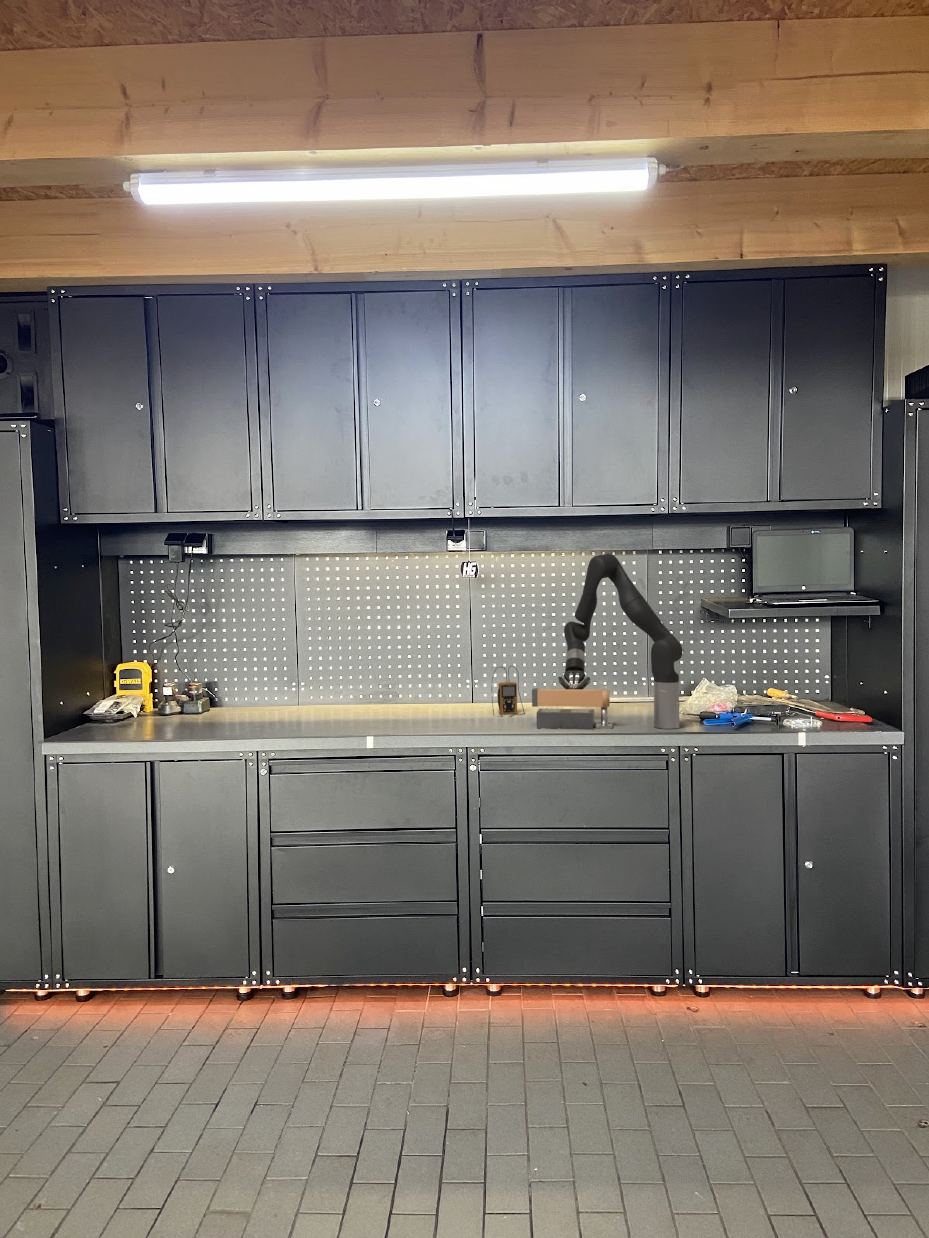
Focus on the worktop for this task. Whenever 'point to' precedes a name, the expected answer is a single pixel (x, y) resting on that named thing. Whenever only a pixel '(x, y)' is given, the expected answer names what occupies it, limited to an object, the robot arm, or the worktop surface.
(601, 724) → the hinge post
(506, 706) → the multimeter
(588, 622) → the robot arm
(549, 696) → the bar
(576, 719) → the dark grey brick
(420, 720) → the worktop surface
